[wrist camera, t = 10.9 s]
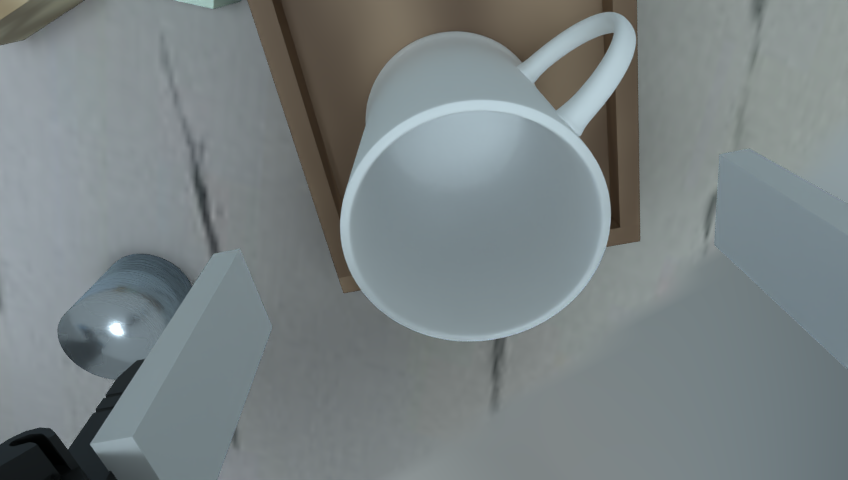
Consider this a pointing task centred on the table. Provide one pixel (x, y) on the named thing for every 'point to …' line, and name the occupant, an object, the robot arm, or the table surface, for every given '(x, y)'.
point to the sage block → (210, 3)
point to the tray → (398, 27)
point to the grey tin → (122, 314)
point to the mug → (479, 184)
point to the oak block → (29, 16)
